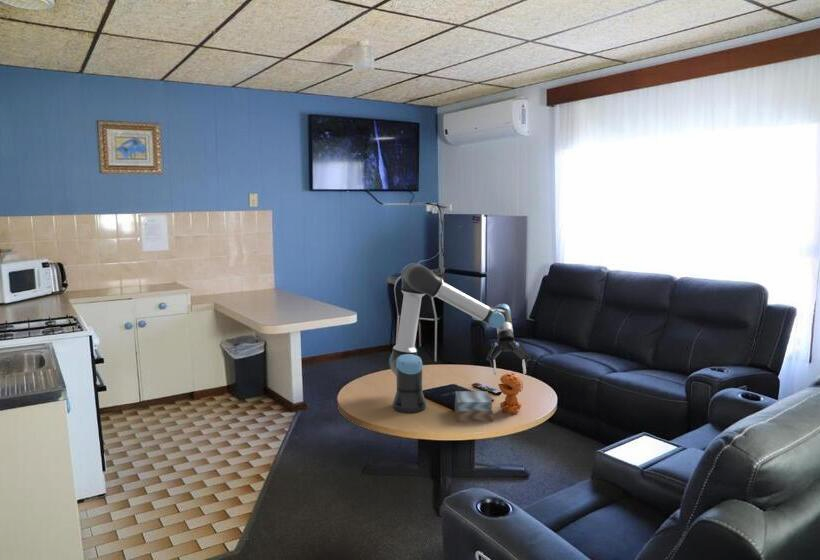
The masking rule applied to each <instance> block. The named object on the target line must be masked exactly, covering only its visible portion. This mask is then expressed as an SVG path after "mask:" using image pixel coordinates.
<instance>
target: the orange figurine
mask: <svg viewBox="0 0 820 560" xmlns="http://www.w3.org/2000/svg"><path fill="white" fill-rule="evenodd" d="M499 380H500V383H498V384H497V385H498V388H499V390H500V392H501V393H502V394H504V395H506V396H505V398H504V401H502V402H500V404H499V407H500V410H501V411H503V412H504V413H506V414H510V415H511V414H512V415H513V414H517V413H516V412H518V410H519V411H521V407H522V402H519V401H518V397H517V395H518V394H519V393H521V392H522V390H523V387H524V384H523V381H522V379H521V378H520V376H519V375H516V374H515V373H513V372H511V374H510V373H509V372H506V374H503V375H501V377H500V378H499Z"/></svg>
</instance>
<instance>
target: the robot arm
mask: <svg viewBox="0 0 820 560" xmlns="http://www.w3.org/2000/svg"><path fill="white" fill-rule="evenodd" d="M400 278H401V287H400V291H401V292H402V295H403V298H402V304H401V310H400V311H401V312H400V318H399V326H398V332H397V341H396V344H395V345H394V346H393V347H392V353H391V354H390V357H389V360H388V364H389V365H388V366H389V368H390V370H391V371H392V373H393V374H394V375H395V377H396V391H395V395H394V397H393V401H392V409H394V411H396V412H399V413H406V414H414V413H420V412H423V411H425V410H426V408H427V402H426V398H425V396H424V392H423V361H422V358H421V357H420V356H419V355H417V354H418V350H417V349H418V348H417V347H416V341H417V340H416V339H417V332H418V326H419V320H420V319H419V318H420V312H421V305H422V298H423V297H424V296H425V295H428V296H429V297H430V298H437V299H439V300H441V301H444V302H445V303H447V304H448V305H451V306H452V307H454V308H457V309H458V310H460V311H462V312H463V313H466V314H467V315H470V316H471V318H472V319H473V320H475V321H480V322H482V323H484V324H486V325H488V326H489V327H491V328H493V329H496V332H497V342H495V341H494V340H493V341H492V343H491V347H490V349H489V351H488V352H487V353H488V354H487V355H486V361H488V362H489V363H490V368H491V369H493V375H494V376H497V365H496V359H497V358H498V356H499V355H500V354H501V353H502V352H505V353H506V352H508V353H510V352H512V353H514V354H515V355H516V356H517V357H518V358H519V359H520V360H521V364H522V372H523V376H524V375H527V367H528V361H530V360H531V355H530V354H529V352H528V351H527V350H526V348H525V347H524V346H523V343H522V341H520V340H519V341H517V342H516V341H515V337H514V336H515V335H514V328H513V321H512V311H511V308H510V306H509V305H508V304H506V303H499V304H497V305H495V306H489V305H486V304H485V303H483V302H481V301H480V300H478V299H475V298H474V297H472V296H470V295H468V294H466V293H465V292H463V291H462V290H459V289H457V288H456V287H454V286H452V285H450V284H449V283H447V282H445V281H444V279H443V278H442V277H440V276H439V275H437V274H436V273H434V272H433V271H431V269H429V268H428V267H426V266H424V265H422V264H421V263H417V262H415V263H414V262H412V263H409V264H407V265H405V266H404V267H403V269H402V270H401V274H400ZM496 347H498V349H497V350H496V351H495V352H494V354H493V351H494V350H495V348H496ZM517 348H518V349H517ZM492 354H493V355H492Z"/></svg>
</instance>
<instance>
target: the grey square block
mask: <svg viewBox="0 0 820 560" xmlns="http://www.w3.org/2000/svg"><path fill="white" fill-rule="evenodd" d="M492 403H493V402H492V399H491V397H490V394H489V392H488V391H484V390H483V391H478V390H477V391H474V390H473V391H471V390H469V391H468V390H467V391H466V390H465V391H464V390H463V391H457V390H455V399H454V413H455V417H456V418H455V419H456V422H457V423H459V422H463V423H465V422H466V423H467V422H468V423H469V422H471V423H472V422H473V423H474V422H475V423H476V422H477V423H479V422H480V423H484V422H485V423H486V422H487V423H490V422H491V423H492V422H493V408H492V407H493V404H492Z"/></svg>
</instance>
